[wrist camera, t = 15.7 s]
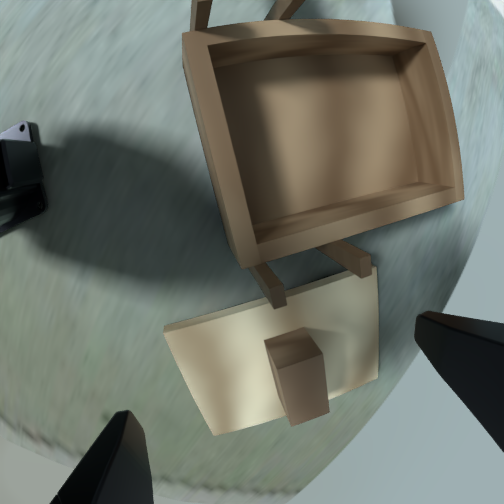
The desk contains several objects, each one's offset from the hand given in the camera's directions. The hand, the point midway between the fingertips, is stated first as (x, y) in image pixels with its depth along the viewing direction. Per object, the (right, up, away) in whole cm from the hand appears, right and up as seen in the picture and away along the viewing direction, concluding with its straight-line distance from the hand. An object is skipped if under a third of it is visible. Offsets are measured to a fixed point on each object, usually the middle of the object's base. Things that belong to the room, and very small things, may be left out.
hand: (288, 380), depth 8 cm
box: (+4, +12, +11) cm, 16 cm away
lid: (+2, -5, +15) cm, 16 cm away
